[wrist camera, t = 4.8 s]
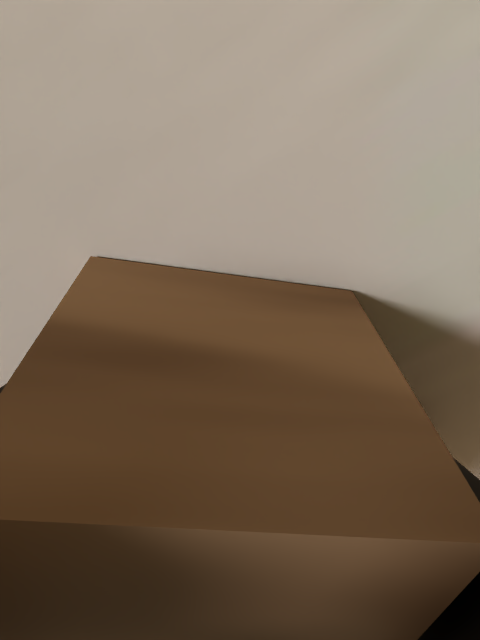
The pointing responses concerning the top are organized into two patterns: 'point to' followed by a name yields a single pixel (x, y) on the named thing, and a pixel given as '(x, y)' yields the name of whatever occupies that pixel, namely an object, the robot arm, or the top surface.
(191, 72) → the top surface
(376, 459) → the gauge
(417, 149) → the top surface
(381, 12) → the top surface
